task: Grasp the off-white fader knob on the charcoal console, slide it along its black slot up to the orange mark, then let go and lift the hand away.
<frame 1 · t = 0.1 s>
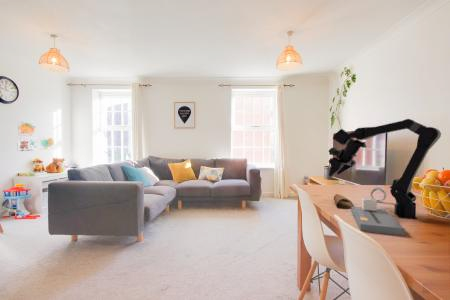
hand: (333, 174, 126), 15 cm above the table, tool tilted 30°, fingers open, 9 cm apart
fader knob: (369, 204, 103), point 5 cm above the table, slide at 0.0 cm
fader console: (373, 222, 95), on the table
ring: (378, 202, 127), on the table
sunglasses case: (343, 205, 123), on the table
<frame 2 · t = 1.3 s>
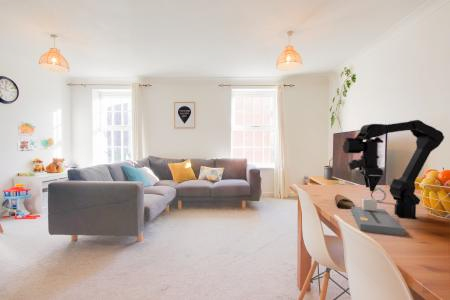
hand: (369, 189, 103), 12 cm above the table, tool pointing down, fingers open, 9 cm apart
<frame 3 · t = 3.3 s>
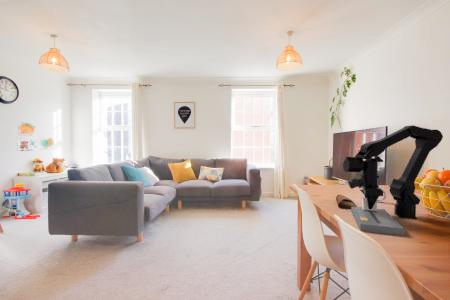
hand: (369, 208, 103), 4 cm above the table, tool pointing down, fingers closed on fader knob, 3 cm apart
fader knob: (369, 204, 103), point 5 cm above the table, slide at 0.0 cm, touching gripper
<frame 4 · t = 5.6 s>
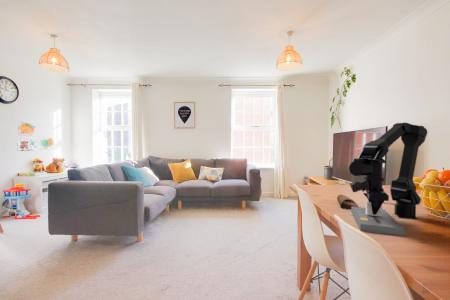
hand: (373, 213, 95), 4 cm above the table, tool pointing down, fingers closed on fader knob, 3 cm apart
fader knob: (373, 209, 95), point 5 cm above the table, slide at 8.1 cm, touching gripper
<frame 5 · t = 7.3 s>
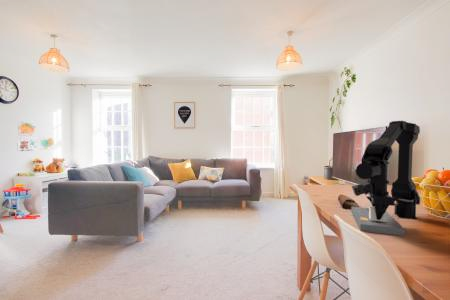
hand: (377, 218, 89), 4 cm above the table, tool pointing down, fingers closed on fader knob, 3 cm apart
fader knob: (377, 213, 89), point 5 cm above the table, slide at 14.9 cm, touching gripper
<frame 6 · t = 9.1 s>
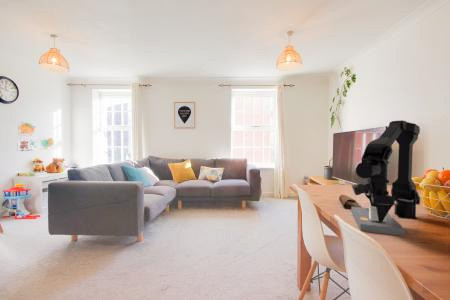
hand: (377, 217, 89), 4 cm above the table, tool pointing down, fingers open, 9 cm apart
fader knob: (377, 213, 89), point 5 cm above the table, slide at 14.9 cm
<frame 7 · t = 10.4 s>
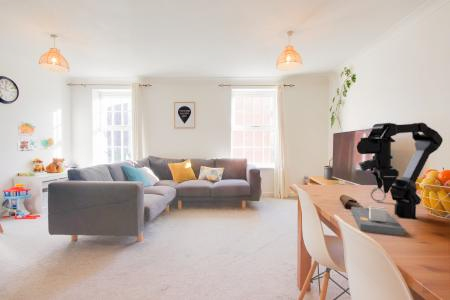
hand: (382, 190, 99), 12 cm above the table, tool pointing down, fingers open, 9 cm apart
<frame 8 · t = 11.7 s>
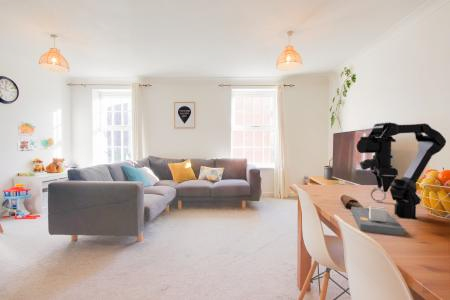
hand: (382, 189, 100), 12 cm above the table, tool pointing down, fingers open, 9 cm apart
at the end: fader knob slide at 14.9 cm; the gripper is holding nothing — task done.
